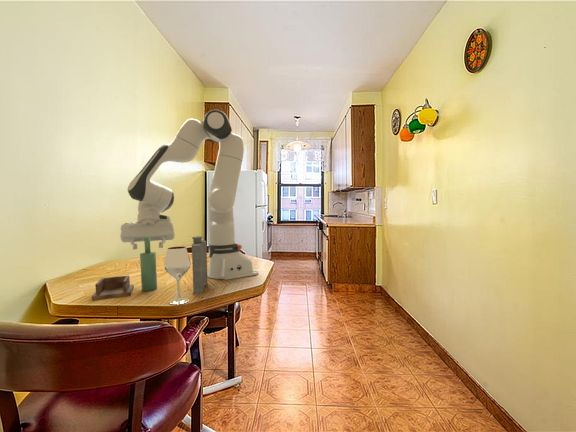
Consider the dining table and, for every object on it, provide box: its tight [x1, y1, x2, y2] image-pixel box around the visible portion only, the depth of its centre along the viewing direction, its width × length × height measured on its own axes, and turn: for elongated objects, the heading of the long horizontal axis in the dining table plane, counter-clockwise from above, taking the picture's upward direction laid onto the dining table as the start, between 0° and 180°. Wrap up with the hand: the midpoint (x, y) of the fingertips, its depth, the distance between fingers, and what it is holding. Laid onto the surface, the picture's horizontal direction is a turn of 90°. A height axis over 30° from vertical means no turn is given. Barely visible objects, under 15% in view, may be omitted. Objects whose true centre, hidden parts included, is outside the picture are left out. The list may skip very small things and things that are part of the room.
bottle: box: [139, 237, 158, 292], centre depth 119 cm, size 6×6×20 cm
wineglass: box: [163, 246, 192, 306], centre depth 102 cm, size 8×8×18 cm
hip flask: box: [191, 236, 209, 295], centre depth 118 cm, size 16×4×20 cm, turn 6°
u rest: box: [91, 274, 135, 301], centre depth 115 cm, size 12×12×5 cm
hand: (148, 247), depth 124 cm, fingers open, 8 cm apart
